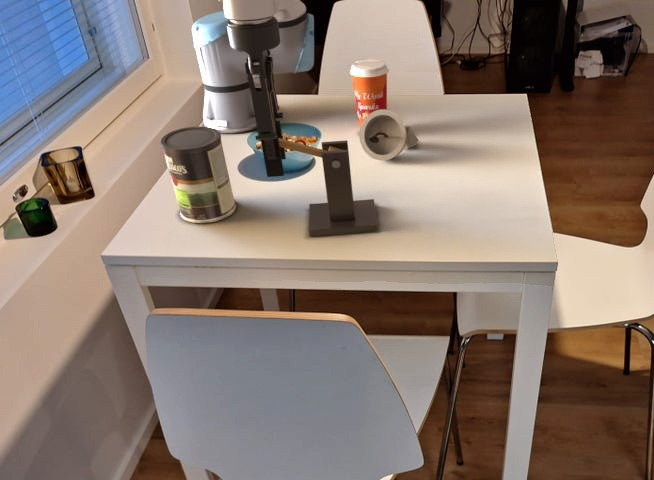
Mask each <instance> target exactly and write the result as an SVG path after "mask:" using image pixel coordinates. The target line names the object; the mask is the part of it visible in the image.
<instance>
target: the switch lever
mask: <svg viewBox="0 0 654 480" xmlns="http://www.w3.org/2000/svg"><path fill="white" fill-rule="evenodd" d="M278 140H279V146H280V147H283V148H284V149H286V150H292V151H294V152H299V153H303V154H305V155H310V156H313V157H319V158H321V159H322V152H324V151H326V150H322V148H318V147H314V146H311V145H307V144H303V143H299V142H295V141H292V140H288V139H284V138H283V139H280V138H278ZM338 150H342V149H339V148H335V147H331V146H329V150H328V151H338Z"/></svg>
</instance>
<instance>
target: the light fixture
mask: <svg viewBox="0 0 654 480" xmlns="http://www.w3.org/2000/svg"><path fill="white" fill-rule="evenodd" d="M359 143H360V145H361V148H362V149H363V151H364V153H366V155H367V156H369V157H370V158H372V159H374V160H377V161H388V160H392V159H393V158H396V157H397V156H398V155H400V154H401V153H402V152H403V150H404V149H410V148H413V147H415V146H416V145H417V144H418V143H419V138H418V136H417V134H415V132H414V130H413V129H412V128H411V126H410V125H409V123H407V124H405V123H404V121H403V120H402V118H401V117H400V116H399V115H398V114H397V113H396V112H395V111H393V110H390V109H387V110H385V109H381V110H376V111H374V112H372V113H370V114H369V115H368V116H367V117H366V118H365V119H364V121H363V123H362V125H361V128H359Z"/></svg>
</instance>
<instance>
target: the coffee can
mask: <svg viewBox="0 0 654 480" xmlns="http://www.w3.org/2000/svg"><path fill="white" fill-rule="evenodd" d="M159 143H160V147H161V148H162V151H163V155H164V158H165V162H166V165H167V169H168V172H169V176H170V180H171V183H172V186H173V190H174V193H175V198H176V201H177V205H178V208H179V212H180V213H179V214H180V217H181V218H182V219H183V220H184V221H186V222H188V223H193V224H209V223H215V222H219V221H221V220H224V219H226V218H229V216H231V215H233V213H234V212H235V211H236V209H237V205H236V202H235V198H234V193H233V189H232V184H231V180H230V175H229V170H228V166H227V162H226V157H225V151H224V147H223V142H222V133H220V132H219V131H218V130H216V129H214V128H210V127H205V126H188V127H182V128H179V129H175V130H173V131H170V132H168V133H166V134H164V135H163V136H162V137H161V139H160V141H159Z"/></svg>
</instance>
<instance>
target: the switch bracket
mask: <svg viewBox="0 0 654 480" xmlns="http://www.w3.org/2000/svg"><path fill="white" fill-rule="evenodd" d="M329 146H331V147H335V148H339V149H342V150H338V151H328V150H329ZM321 149H322V150H326V151H324V152H322V158H321V159H322V168H323V176H324V183H325V191H326V199H327V202H317V203H309V204H308V237H309V238H311V237H323V236H324V237H325V236H337V235H338V236H339V235H350V234H351V235H352V234H362V233H374V232H378V221H377V214H376V213H377V212H376V205H375V199H374V198H371V199H360V200H359V199H357V200H354V194H353V182H352V174H351V173H352V172H351V161H350V152H349V142H348V140H347V139H346V140H334V141H322V142H321Z"/></svg>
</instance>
